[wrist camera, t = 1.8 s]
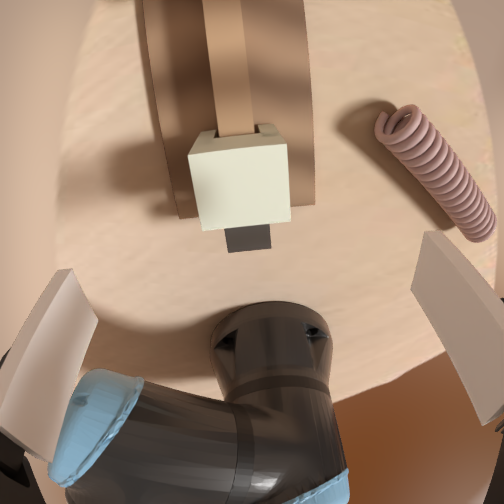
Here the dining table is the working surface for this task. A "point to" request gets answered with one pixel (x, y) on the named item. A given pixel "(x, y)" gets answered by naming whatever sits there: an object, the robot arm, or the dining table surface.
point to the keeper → (240, 179)
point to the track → (265, 78)
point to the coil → (437, 170)
